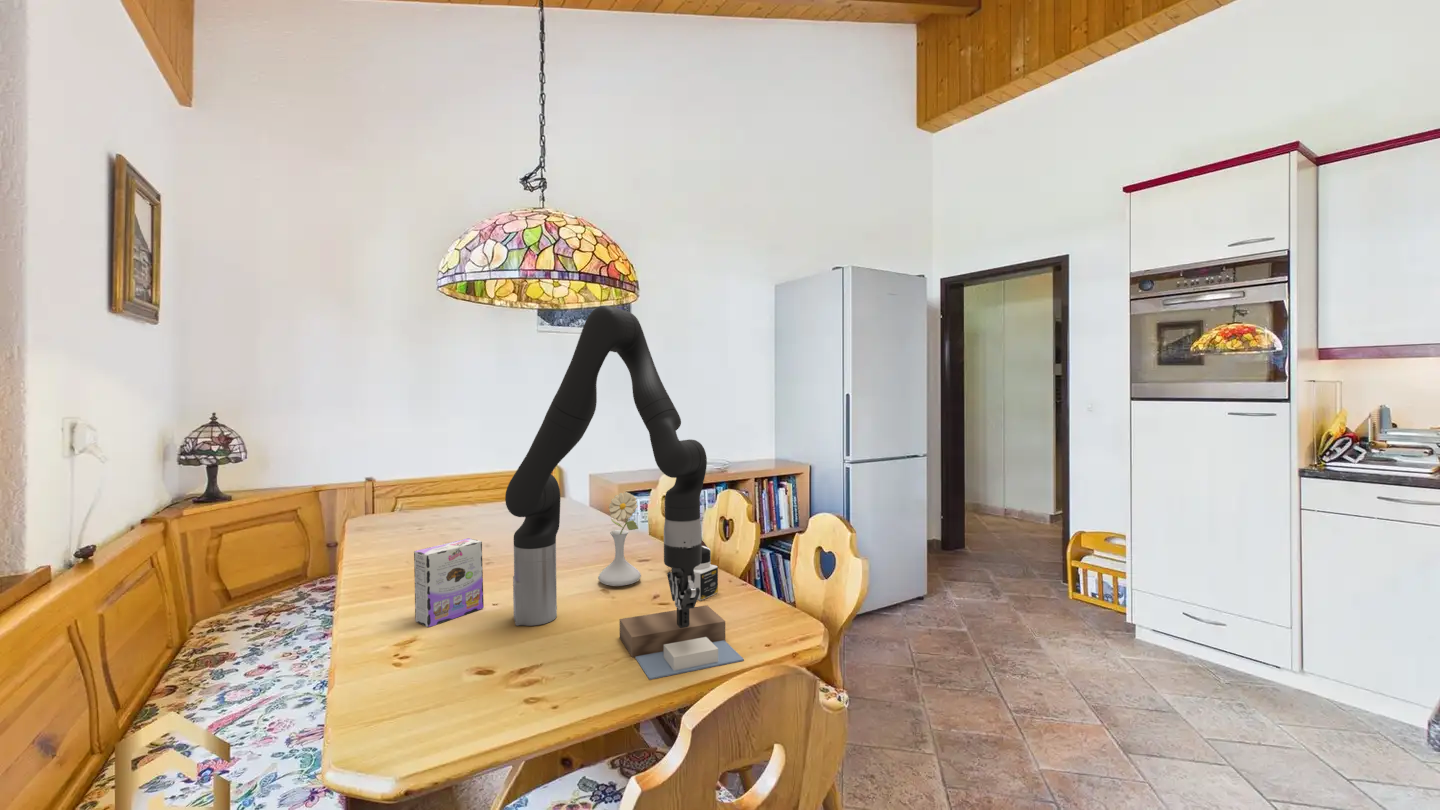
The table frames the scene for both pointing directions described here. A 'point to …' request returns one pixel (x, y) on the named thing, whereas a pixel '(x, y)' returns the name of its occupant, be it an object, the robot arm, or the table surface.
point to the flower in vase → (621, 543)
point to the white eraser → (690, 653)
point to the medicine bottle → (706, 576)
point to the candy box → (448, 581)
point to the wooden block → (669, 630)
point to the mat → (659, 668)
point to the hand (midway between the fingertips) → (683, 626)
